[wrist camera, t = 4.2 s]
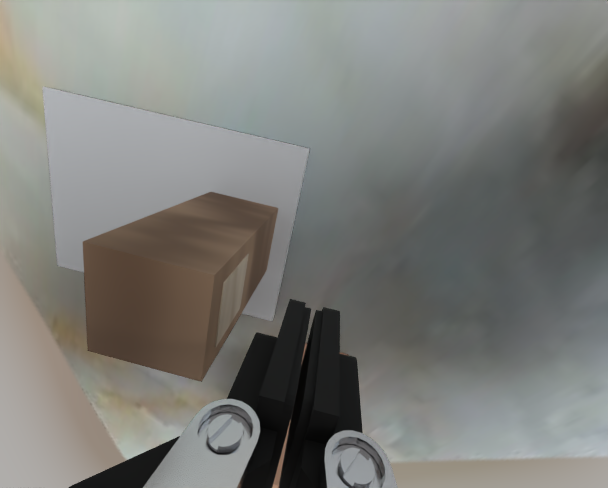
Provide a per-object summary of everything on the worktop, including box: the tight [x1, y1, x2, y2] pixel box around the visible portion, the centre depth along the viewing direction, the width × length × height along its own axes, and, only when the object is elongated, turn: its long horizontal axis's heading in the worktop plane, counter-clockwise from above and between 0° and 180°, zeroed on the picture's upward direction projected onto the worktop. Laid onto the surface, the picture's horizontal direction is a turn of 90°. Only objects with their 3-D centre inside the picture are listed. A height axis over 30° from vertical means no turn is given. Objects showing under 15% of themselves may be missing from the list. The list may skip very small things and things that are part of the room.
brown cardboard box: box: [83, 192, 278, 382], centre depth 13 cm, size 4×4×9 cm
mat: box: [43, 87, 310, 321], centre depth 18 cm, size 15×11×1 cm
